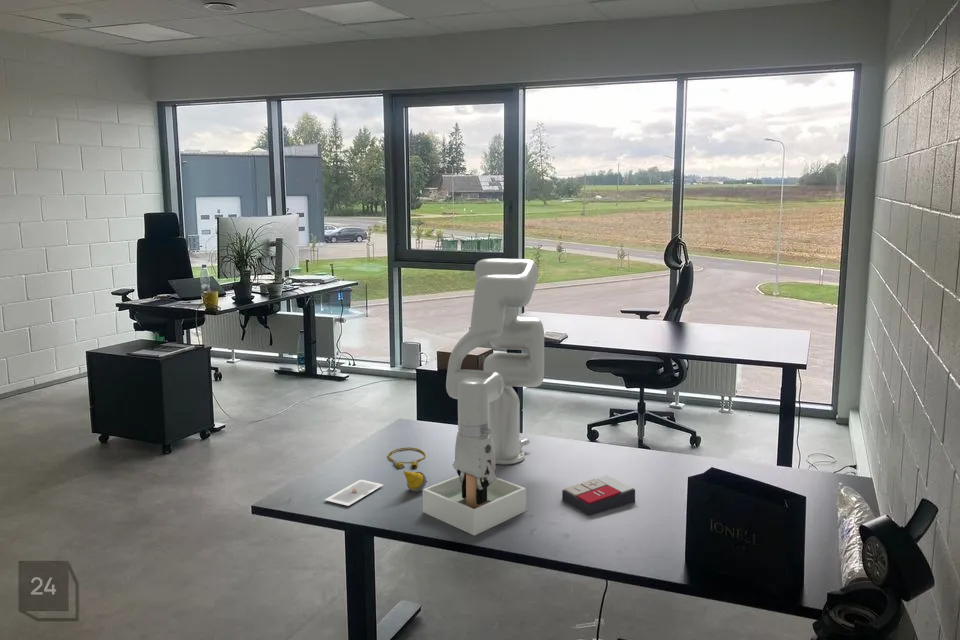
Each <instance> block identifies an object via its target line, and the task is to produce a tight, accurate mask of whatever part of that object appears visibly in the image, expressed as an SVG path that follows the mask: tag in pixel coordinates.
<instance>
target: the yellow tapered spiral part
mask: <svg viewBox="0 0 960 640" xmlns="http://www.w3.org/2000/svg"><path fill="white" fill-rule="evenodd" d="M403 474H404V477H405V479H406V483H407V485H406V487H407V488H408V490H410V491H411V492H413V493H417V492H420V491H423V489H425V486H426V484H427V482H428V480H427V476H426V475H425V474H424V473H423V472H421V471H406V470H405V471H403Z"/></svg>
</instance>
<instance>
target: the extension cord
mask: <svg viewBox="0 0 960 640" xmlns="http://www.w3.org/2000/svg"><path fill="white" fill-rule="evenodd" d="M401 451H417V452H419V453H422V454H423V457H422V458H419V459H412V461H408V462H407V461H400V460H398V459H396V460H395V459H393V458H391V457H390V456H392V454H395V453H397V452H401ZM386 459H387V460H389V461H391V462H393V464H394V465H395V467H396V468H397V469H404V468H405V465H404V464H411V466H410V467H411V469H414V468H415V469H416V470H417V469H418V467H419V466H418V464H419V462H421V461H423V460H424V459H426V453H425V452H424V450H422V449H420V448H416V447H399V448H396V449H394V450H391V451H390V452H389V453H388V455H387V457H386Z"/></svg>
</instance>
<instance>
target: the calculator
mask: <svg viewBox="0 0 960 640" xmlns="http://www.w3.org/2000/svg"><path fill="white" fill-rule="evenodd" d="M561 495H562V497H561V498H562V499H561V500H562V501H563V502H565V503H567V504H568V505H569V506H572V507H573V508H575V509H577V510H579V511H580V512H582V513H583V514H585V515H587V516H594V515H597V514H601V513H604V512H607V511H610V510H612V509H617V508H618V507H621V506H623V507H624V506H628V505H631V504H634V503H636V489H635V488H633V487H632V486H630V485H628V484H627V483H626V484H625V483H624V482H622V481H619V480H618V479H615V478H614V477H611V476H609V475H607V474H606V475H603V476H600V477H596V478H592V479H589V480H586V481H583V482H580V483H577V484H574V485H571V486H568V487H565V488H564V489H562V491H561Z"/></svg>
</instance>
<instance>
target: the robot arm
mask: <svg viewBox="0 0 960 640" xmlns="http://www.w3.org/2000/svg"><path fill="white" fill-rule="evenodd" d="M538 272H539V271H538V265H537V264H536V262H535V261H534V260H532V259H528V258H502V257H501V258H497V257H496V258H483V259H480V260H478V261H477V262H476V263H475V265H474V274H475V275H474V276H475V278H476V282H475V286H474V294H473V301H472V302H473V303H472V309H471V310H472V311H471V318H470V327H469V330H468V331H467V332H466V333H465V334H464V335H463V336H462V337H461V338H460V339H459V340H458V342H457V343H456V344H455V345H454V347H453V349H452V350H451V353H450V355H449V359H448V363H447V370H446V371H447V373H446V381H445V389H446V393H447V394H448V396H449V397H450V398H452V399H453V400H454V399H455V400H457V419H458V420H457V429H458V431H457V433H456V437H455V438H456V439H455V445H454V446H455V447H454V462H453V463H452V467H453V469H455V472H456V473H457V476H458V475H459V477H460V482H461V483H462V498H464V499H465V498H466V473H467V474H470V475H472V476H475V477H476V478H477V484H478V489H476V503H477V504H478V505H480V504H482V503H484V502H486V501H487V487H488V486H489V485H490V484H491V483H492V482H494V481H496V480H497V478H498V477H497V476H496V474H495V473H496V465H514V464H517V463H521V462H522V461H523V460H525V457H526V455H525V454H526V453H525V452H524V451H523V449H522V448H523V447H524V446H527V445H530V443H531V442H530V439H529V438H523V439H522V440H521V438H520V437H521V436H520V434H521V432H520V430H521V429H520V419H521V418H520V405H521V404H520V403H521V402H520V398H519V395H518V393H517V392H516V391H515V389H514V388H513V387H517V388H518V387H519V388H520V387H523V388H537V387H539V386H541V385H542V383H543V382H544V377H545V332H544V331H545V330H544V324H543V322H542V321H541V320H540V319H539V318H538V317H535V316H522V315H521V316H519V312H518V310H519V309H518V308H524V307H526V306H527V305H529V303H530V301H531V299H532V296H533V293H534V291H535V288H536V286H537V282H538V277H539V275H538V274H539V273H538ZM488 343H489V344H490V345H491V347H493V348H495V349H503V350H517V351H518V350H521V351H526V353H518V352H517V353H516V352H494V353H490V354H489V355H488V356H486V357H485V359H484V361H483V370H480V369H461V367H462V364H463V360H464V359H465V357H467V355H468V354H469V353H471V352H472V351H473V350H475V349H476V348H479V347H481V346H483V345H485V344H488ZM496 477H497V478H496ZM482 478H483V479H484V481H483V482H482Z"/></svg>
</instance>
